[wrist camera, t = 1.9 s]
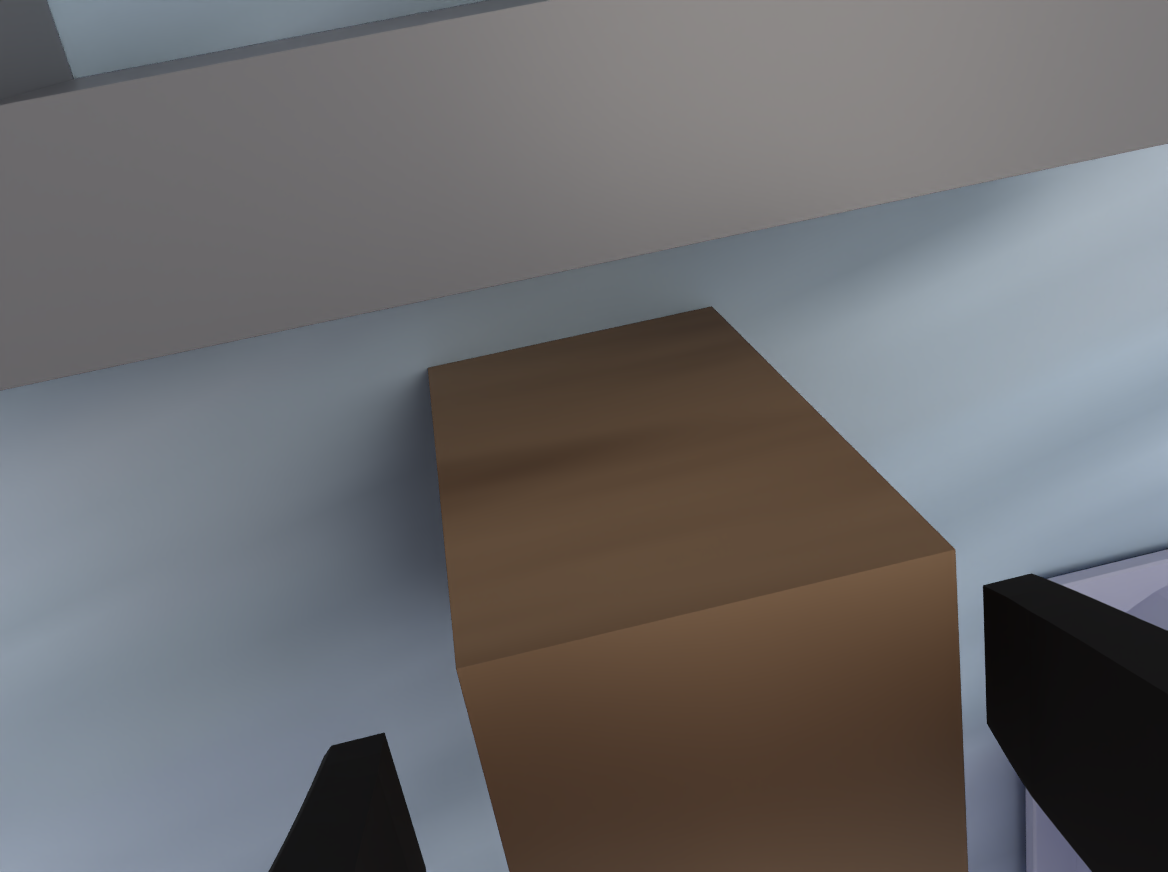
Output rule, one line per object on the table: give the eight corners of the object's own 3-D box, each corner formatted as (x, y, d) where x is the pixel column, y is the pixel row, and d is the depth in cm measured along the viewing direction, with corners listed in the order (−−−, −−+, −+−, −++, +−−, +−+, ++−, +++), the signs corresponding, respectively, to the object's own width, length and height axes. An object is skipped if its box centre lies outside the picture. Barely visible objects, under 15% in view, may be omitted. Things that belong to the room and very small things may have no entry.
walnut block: (743, 554, 21) (970, 918, 13) (487, 614, 21) (552, 1030, 12) (712, 306, 19) (954, 549, 11) (428, 367, 19) (456, 668, 10)
